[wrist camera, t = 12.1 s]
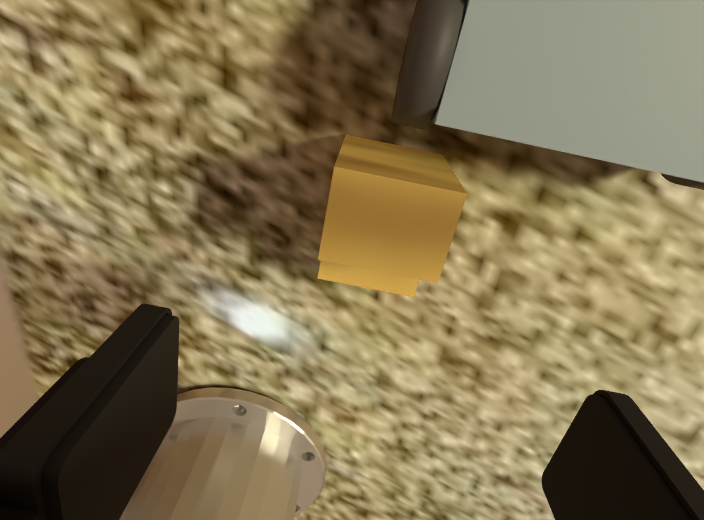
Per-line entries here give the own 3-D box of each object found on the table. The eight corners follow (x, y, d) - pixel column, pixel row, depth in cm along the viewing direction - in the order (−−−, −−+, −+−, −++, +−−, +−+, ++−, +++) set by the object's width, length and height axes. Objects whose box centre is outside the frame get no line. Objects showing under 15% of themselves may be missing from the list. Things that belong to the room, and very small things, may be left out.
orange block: (409, 267, 22) (419, 336, 17) (324, 250, 22) (307, 315, 16) (442, 154, 19) (467, 193, 14) (346, 133, 19) (334, 166, 14)
